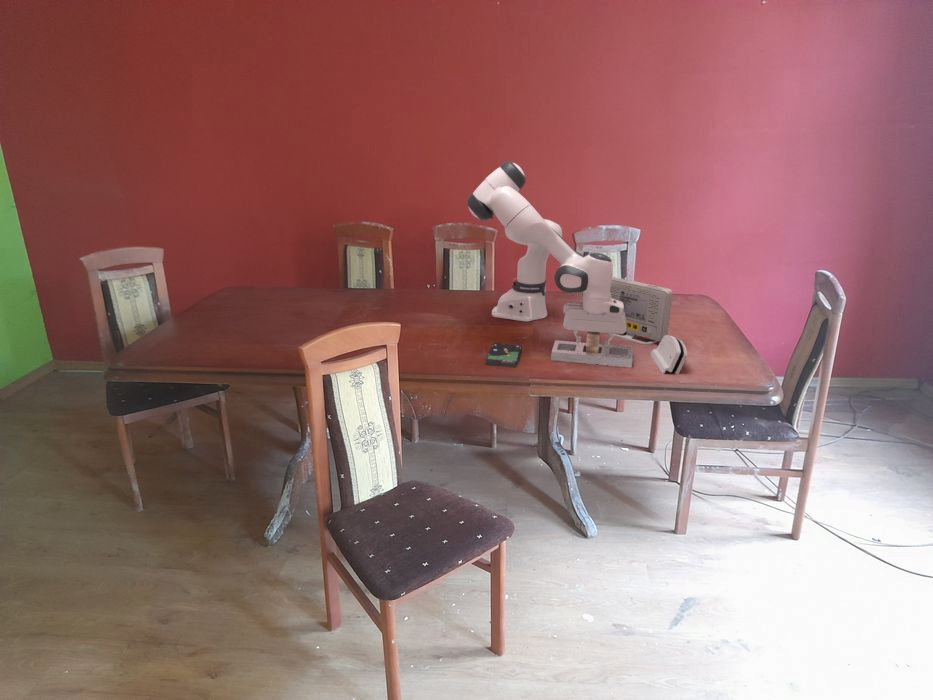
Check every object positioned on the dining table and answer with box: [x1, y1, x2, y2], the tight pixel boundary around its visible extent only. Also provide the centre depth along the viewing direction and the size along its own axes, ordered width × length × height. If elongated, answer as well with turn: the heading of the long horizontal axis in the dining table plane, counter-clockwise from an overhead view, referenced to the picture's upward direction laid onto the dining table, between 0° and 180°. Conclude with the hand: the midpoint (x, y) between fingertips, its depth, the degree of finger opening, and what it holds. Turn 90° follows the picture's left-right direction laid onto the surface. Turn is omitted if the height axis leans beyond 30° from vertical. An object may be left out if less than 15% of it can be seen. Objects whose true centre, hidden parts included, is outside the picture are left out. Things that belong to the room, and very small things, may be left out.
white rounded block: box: [649, 335, 688, 375], centre depth 194 cm, size 17×5×10 cm, turn 178°
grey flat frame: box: [550, 339, 634, 369], centre depth 200 cm, size 26×11×3 cm, turn 76°
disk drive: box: [485, 342, 523, 368], centre depth 201 cm, size 10×3×15 cm
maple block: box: [585, 331, 601, 353], centre depth 199 cm, size 4×4×9 cm
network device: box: [607, 276, 674, 346], centre depth 216 cm, size 26×9×20 cm, turn 44°
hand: (592, 343), depth 199 cm, fingers open, 8 cm apart
